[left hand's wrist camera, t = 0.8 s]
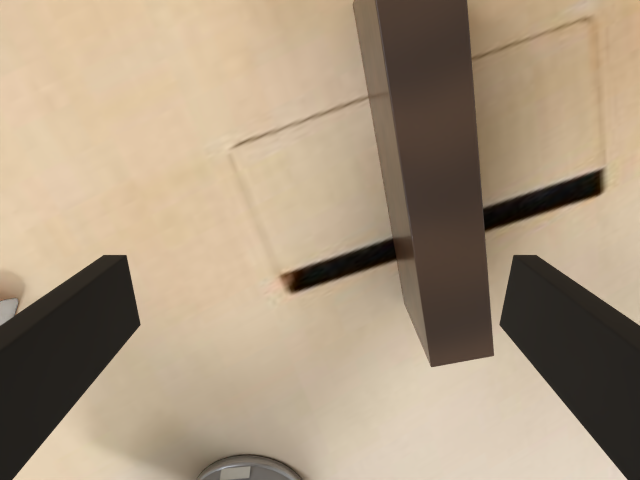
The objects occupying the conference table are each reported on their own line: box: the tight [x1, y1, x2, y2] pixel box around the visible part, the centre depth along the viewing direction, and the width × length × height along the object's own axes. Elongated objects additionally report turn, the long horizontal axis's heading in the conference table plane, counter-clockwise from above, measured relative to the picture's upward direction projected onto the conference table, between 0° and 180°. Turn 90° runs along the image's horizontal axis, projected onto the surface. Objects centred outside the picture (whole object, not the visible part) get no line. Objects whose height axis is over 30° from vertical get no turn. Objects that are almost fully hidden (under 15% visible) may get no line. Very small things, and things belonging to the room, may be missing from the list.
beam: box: [353, 0, 494, 367], centre depth 28 cm, size 28×5×10 cm, turn 13°
